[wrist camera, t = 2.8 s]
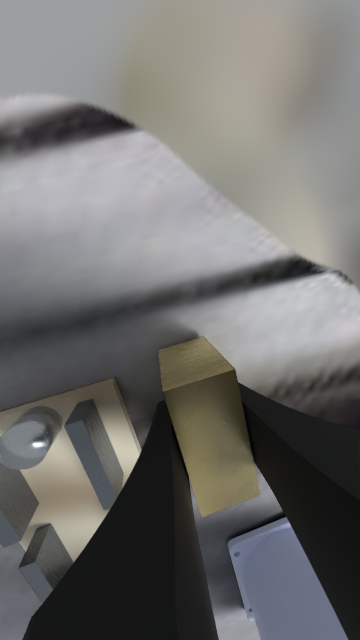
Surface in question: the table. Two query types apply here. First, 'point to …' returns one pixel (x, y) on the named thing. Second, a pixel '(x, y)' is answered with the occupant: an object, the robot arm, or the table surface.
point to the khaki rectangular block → (209, 424)
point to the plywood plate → (75, 466)
